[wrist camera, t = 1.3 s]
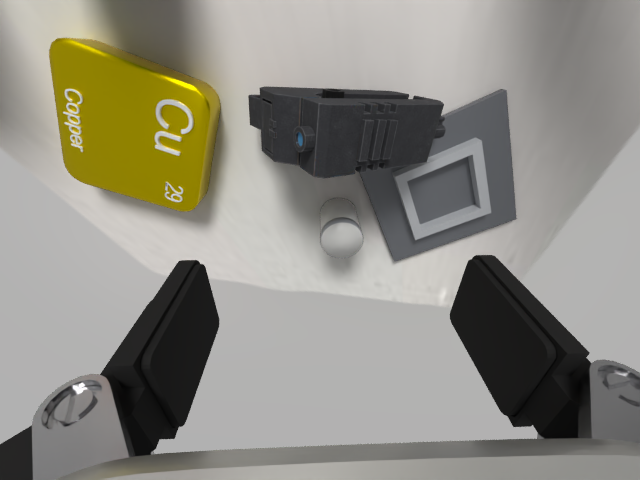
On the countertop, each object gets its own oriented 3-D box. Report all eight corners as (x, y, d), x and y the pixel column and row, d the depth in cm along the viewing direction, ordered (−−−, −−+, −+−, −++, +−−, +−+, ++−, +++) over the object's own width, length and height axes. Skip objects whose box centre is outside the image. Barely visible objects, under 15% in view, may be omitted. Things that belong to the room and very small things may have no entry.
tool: (234, 74, 28) (305, 98, 18) (379, 82, 37) (483, 100, 27) (239, 137, 31) (301, 188, 21) (371, 130, 40) (460, 163, 30)
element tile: (77, 32, 29) (38, 28, 25) (224, 89, 32) (211, 94, 28) (89, 166, 36) (61, 180, 32) (206, 202, 39) (194, 218, 35)
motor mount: (501, 89, 32) (514, 91, 30) (512, 215, 41) (522, 224, 39) (353, 155, 36) (355, 162, 34) (393, 257, 45) (397, 267, 43)
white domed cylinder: (348, 191, 38) (354, 216, 33) (361, 222, 41) (369, 249, 35) (313, 206, 40) (313, 232, 34) (328, 235, 42) (330, 263, 36)
